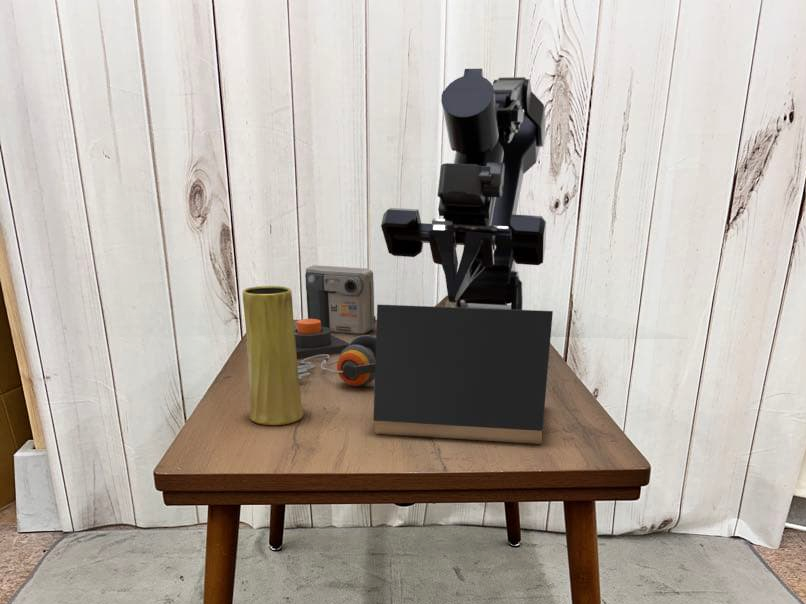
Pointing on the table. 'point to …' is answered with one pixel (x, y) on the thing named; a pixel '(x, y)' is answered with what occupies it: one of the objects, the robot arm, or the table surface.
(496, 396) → the black flat panel
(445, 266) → the robot arm
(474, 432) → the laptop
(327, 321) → the camera
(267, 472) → the table surface
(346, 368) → the headphones
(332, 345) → the dock
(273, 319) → the vase
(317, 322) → the power button
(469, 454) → the table surface
